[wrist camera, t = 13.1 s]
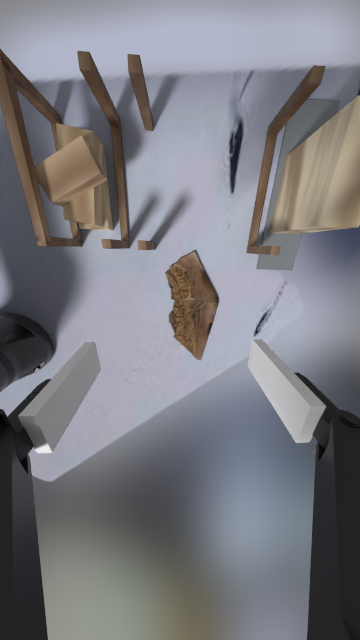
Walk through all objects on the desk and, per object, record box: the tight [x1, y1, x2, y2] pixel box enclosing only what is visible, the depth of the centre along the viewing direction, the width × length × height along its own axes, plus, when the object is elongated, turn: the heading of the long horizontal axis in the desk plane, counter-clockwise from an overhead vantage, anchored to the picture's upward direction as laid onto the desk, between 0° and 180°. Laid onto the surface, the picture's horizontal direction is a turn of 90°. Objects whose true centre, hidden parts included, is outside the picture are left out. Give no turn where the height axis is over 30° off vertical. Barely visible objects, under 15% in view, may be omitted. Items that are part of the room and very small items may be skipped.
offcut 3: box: [78, 136, 113, 230], centre depth 29 cm, size 5×12×3 cm, turn 179°
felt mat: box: [257, 99, 339, 270], centre depth 30 cm, size 7×24×1 cm, turn 178°
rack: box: [0, 49, 325, 255], centre depth 25 cm, size 34×18×10 cm, turn 88°
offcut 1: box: [34, 135, 107, 206], centre depth 23 cm, size 4×8×2 cm, turn 114°
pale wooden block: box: [270, 96, 360, 234], centre depth 24 cm, size 5×11×12 cm, turn 178°
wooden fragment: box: [165, 250, 219, 360], centre depth 38 cm, size 26×11×1 cm, turn 3°
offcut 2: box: [56, 123, 103, 227], centre depth 26 cm, size 5×11×3 cm, turn 171°
